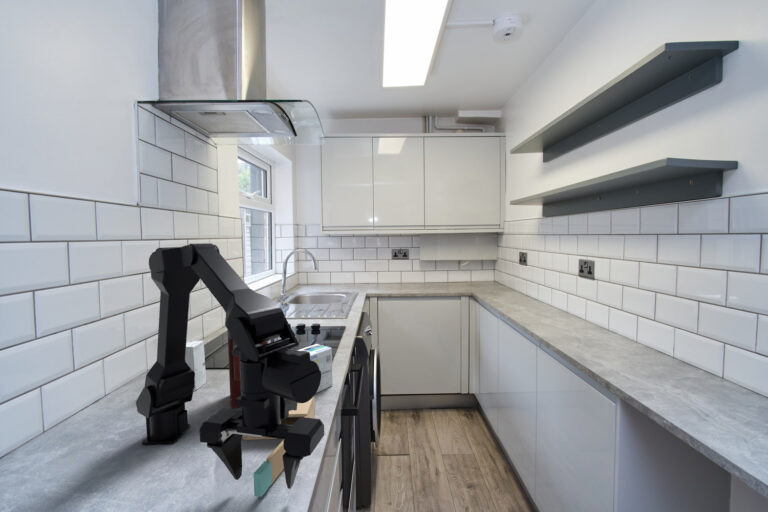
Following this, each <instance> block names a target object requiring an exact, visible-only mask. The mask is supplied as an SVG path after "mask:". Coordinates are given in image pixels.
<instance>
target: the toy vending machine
mask: <svg viewBox="0 0 768 512" xmlns="http://www.w3.org/2000/svg"><path fill="white" fill-rule="evenodd" d="M250 289H251V288H250ZM251 290H252V291H254V292H256V291H255V290H254V289H251ZM226 329H227V328H226ZM226 332H227V348H228V349H227V351H228V352H227V354H228V375H229V376H228V377H229V379H228V381H229V397H230V398H229V399H230V400H229V401H230V409H238V408H242V407H241V406H236V398H238V397H239V396H241V381H240V357H238V356H235V355H233V354H232V350H234V348H236V347H237V346H238V345H237V344H236V343H235V341H234V340H233V339H232V337H231V335H230V333H229V331H228V329H227V331H226ZM268 343H269V341H267V342H263V343H260V345H265V344H268Z"/></svg>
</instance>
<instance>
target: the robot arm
mask: <svg viewBox="0 0 768 512" xmlns="http://www.w3.org/2000/svg"><path fill="white" fill-rule="evenodd" d="M155 249H156V250H155V251H152V252H151V254H150V255H149V257H148V267H149V270H150V278H151V280H152V282H154V284H155V285H156V287H157V289H158V290H159V291H160V297H159V314H158V315H159V316H158V330H157V332H158V334H157V349H156V361H155V362H154V364H153V365H152V366H151V368H150V369H149V371H148V372H147V373H146V375H145V381H144V387H143V388H142V390H141V391H140V393H139V395H138V397H137V399H136V400H135V405H136V411H137V413H138V414H139V415H141V416H143V417H144V418H145V428H146V430H145V431H146V437H145V438H144V439H143V440H142V441H141V445H144V446H145V445H169V444H171V445H172V444H174V443H176V442H177V441H178V440H179V439H180V438H181V437H182V436H183V435H184V434H185V432H187V430H189V428H190V427H191V423H189V418H188V413H189V412H188V410H187V409H186V403H188V402H189V403H190V402H192V400H193V397H194V396H193V395H194V391H193V390H194V388H195V386H194V384H195V381H194V378H195V372H194V371H193V370H191V368H190V367H189V366H188V364H187V363H186V362H185V355H186V343H187V337H188V323H189V310H190V295H191V292H192V291H193V289H194V288H195V287H197V284H198V283H199V282H200V281H201V282H202V283H203V284H204V285H205V287H206V288H207V290H208V291H209V292H210V293H211V295H212V296H213V297H214V298H215V300H216V301H217V302H218V303H219V305H220V306H221V308H223V311H224V312H225V318H224V319H225V320H224V326H225V328H226V329H228V331H229V333H230V335H231V337H232V339H233V340H234V341H235V343H236V344H237V345H238V346H237V347H236V348H234V350H232V354H233V355H235V356H238V357H240V381H241V396H239V397H238V398H236V406H241V407H240V408H241V409H237V408H234V409H231V408H225V407H222V408H221V409H220V410H218V411H217V412H215V413H214V414H212V415H211V416H210V417H208V418H207V419H205V420H204V421H203V422H202V423H201V425H200V428H199V429H198V430H199V443H205V444H206V446H207V448H209V449H211V450H212V451H213V452H214V454H216V456H217V457H218V458H219V460H220V461H221V462H222V463H223V465H225V467H226V469H227V470H228V471H229V473H230V474H231V476H232V477H233V479H234V480H236V481H239V479H240V478H241V477H242V476H243V475H242V473H243V452H242V450H243V449H242V446H243V445H242V440H243V435H248V436H256V437H262V436H264V437H271V438H279V439H280V440H284V450H285V451H286V452H285V453H284V455H283V464H284V469H283V471H284V479H285V484H286V488H287V489H289V490H290V489H292V488H293V485H294V483H295V480H296V477H297V473H298V470H299V467H300V464H301V461H302V460H303V459H304V458H306V457H308V456H311V455H312V453H313V452H314V451H315V449H316V448H317V446H318V445H319V444H320V442H321V440H323V438H324V436H325V424H324V423H323V421H322V420H321V419H320V418H315V417H314V418H306V417H300V418H299V419H298V420H297V421H296V422H295V423H294V424H293V425H286V424H281V420H282V419H286V418H287V417H288V416H289V411H291V410H294V411H295V410H297V404H298V403H306V402H308V401H309V400H310V399H312V398H313V396H314V395H316V394H317V393H318V392H317V390H318V388H319V386H320V382H321V371H320V369H319V366H318V365H317V363H315V362H314V361H311V360H310V353H309V352H307V351H297V350H298V349H294V348H297V347H299V345H300V344H299V342H298V340H297V337H296V333H295V332H294V331H293V329H292V327H291V326H290V323H289V322H288V319H287V318H286V316H285V313H284V311H283V309H282V307H280V306H279V305H278V304H277V303H276V302H274V300H272V299H271V298H269V297H268V296H267V295H264V294H261V293H258V292H256V291H255V290H254V291H255V292H254V291H252V290H253V289H252V290H251V288H250V286H248V284H247V283H246V282H245V281H244V280H243V279H242V278H241V276H240V275H239V274H238V273H237V272H236V270H235V269H234V268H233V267H232V266H231V265H230V264H229V262H228V261H227V260H226V259H225V258H224V257H223V256H222V254H221V252H220V248H219V247H218V246H217V245H216V244H213V243H211V242H209V243H206V242H205V243H189V244H186V245H183V246H170V247H168V246H167V247H157V248H155ZM228 331H227V332H228ZM278 338H280V339H278ZM276 339H277V340H276ZM272 340H275V341H272ZM267 341H268V344H265V345H260V343H263V342H267ZM269 341H271V342H269ZM316 392H317V393H316ZM279 439H278V440H279Z"/></svg>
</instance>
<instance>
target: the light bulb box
mask: <svg viewBox="0 0 768 512" xmlns="http://www.w3.org/2000/svg"><path fill="white" fill-rule="evenodd" d="M296 350H297V351H307V352H309V353H310V360H311V361H314V362H315V363H317V365H318V366H319V369H320V371H321V382H320V386H319V388H318V390H317V392H316V394H317V393H319V392H322V391H323V390H326V389H329V388H331V387H333V356H332V355H333V353H332V351H333V350H332V347H330V346H327V345H322V344H319V343H315V344H312V345H309V346H306V347H304V348H303V347H302V348H301V349H296Z"/></svg>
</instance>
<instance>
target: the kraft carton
mask: <svg viewBox="0 0 768 512" xmlns="http://www.w3.org/2000/svg"><path fill="white" fill-rule="evenodd" d="M315 395H316V394H315ZM315 395H314V396H313V398H312V399H310V400H309V401H308V402H306V403H298V404H297V410H295V411H294V410H291V411H289V416H288V417H287V418H286V419H282V420H281V424H286V425H293V424H294V423H295V422H296V421H297V420H298V419H299V418H300V417H308V418H315V416H316V402H315V401H316V398H315ZM242 440H243V441H247V440H248V441H249V440H250V441H252V440H279V438H271V437H264V436H262V437H256V436H248V435H243V436H242Z"/></svg>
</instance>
